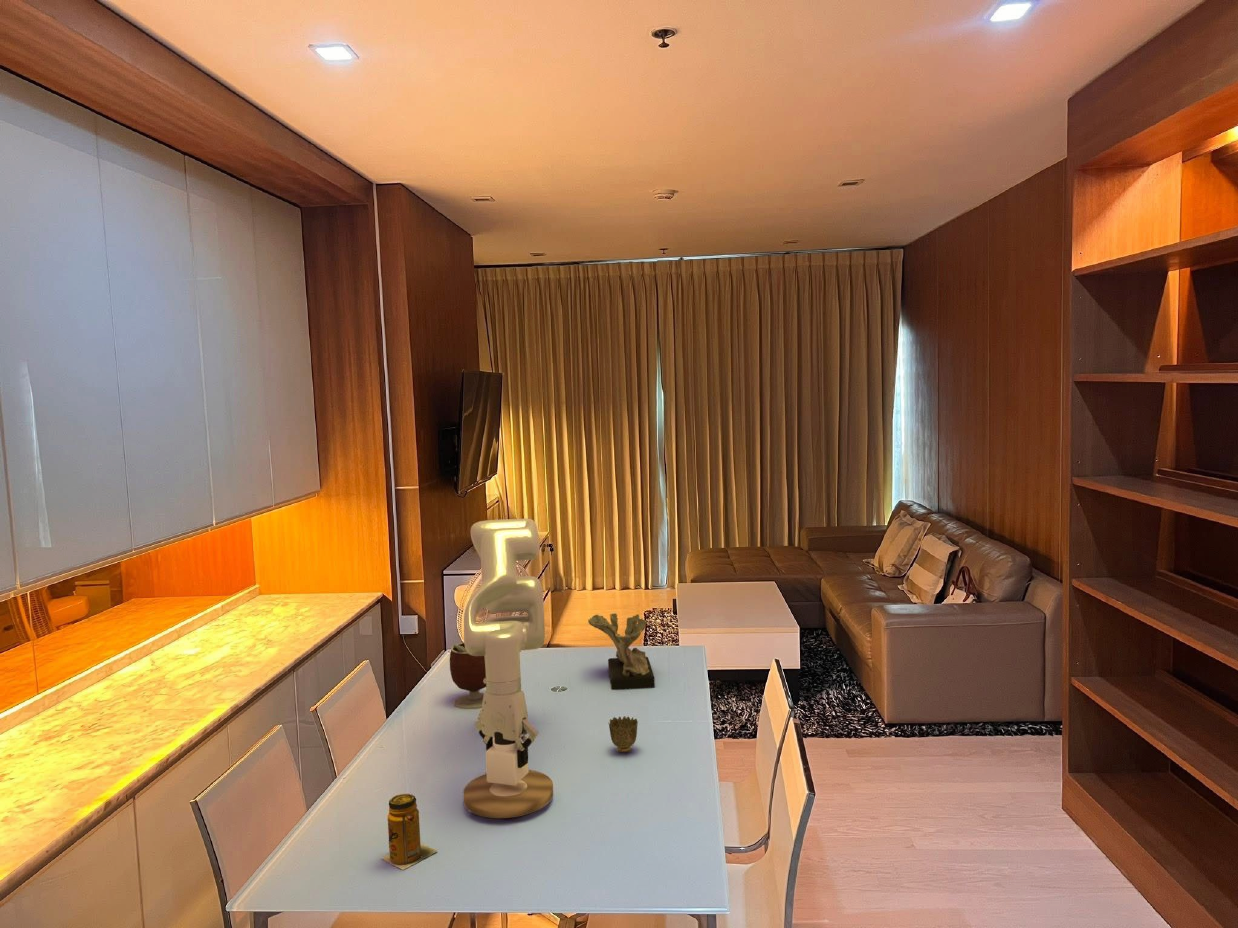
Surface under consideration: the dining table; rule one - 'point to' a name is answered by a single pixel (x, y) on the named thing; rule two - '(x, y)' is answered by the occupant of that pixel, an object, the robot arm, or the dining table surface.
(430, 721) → the dining table surface
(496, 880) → the dining table surface
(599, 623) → the coral
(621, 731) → the brown textured pot
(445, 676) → the dining table surface
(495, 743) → the medicine bottle
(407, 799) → the condiment
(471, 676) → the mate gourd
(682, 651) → the dining table surface
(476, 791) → the disc
